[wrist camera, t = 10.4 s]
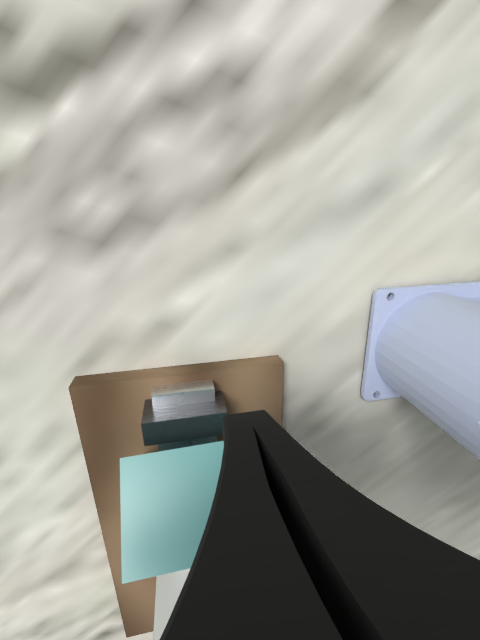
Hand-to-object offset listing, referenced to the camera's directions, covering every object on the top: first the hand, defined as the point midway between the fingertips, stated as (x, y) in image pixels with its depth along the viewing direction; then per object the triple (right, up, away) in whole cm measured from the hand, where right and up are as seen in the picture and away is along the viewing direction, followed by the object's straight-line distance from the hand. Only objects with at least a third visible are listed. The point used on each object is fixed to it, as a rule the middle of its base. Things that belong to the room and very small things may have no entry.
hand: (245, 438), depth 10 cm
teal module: (-3, -6, +9) cm, 11 cm away
